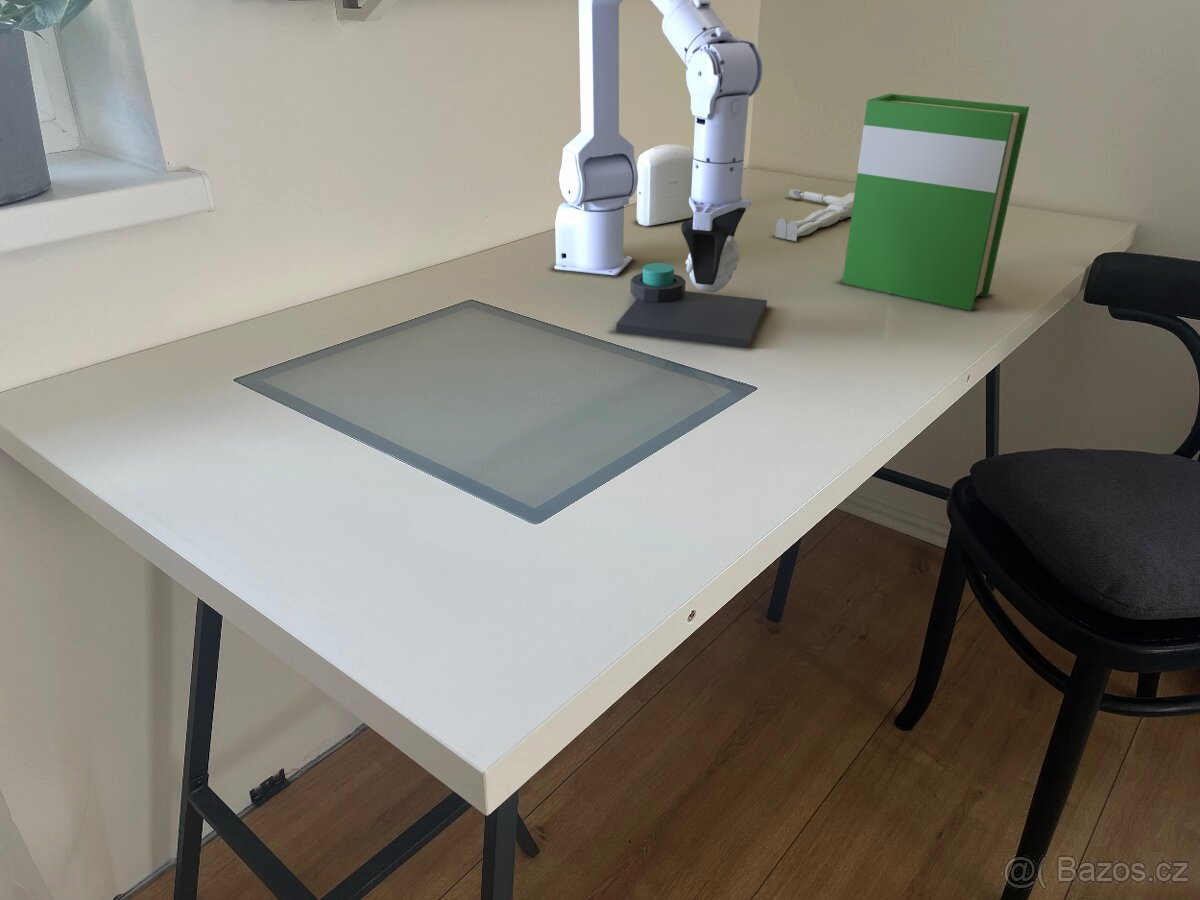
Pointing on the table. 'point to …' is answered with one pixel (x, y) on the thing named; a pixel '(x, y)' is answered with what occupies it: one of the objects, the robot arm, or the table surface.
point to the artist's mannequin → (816, 215)
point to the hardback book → (932, 196)
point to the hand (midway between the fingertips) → (710, 274)
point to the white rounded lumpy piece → (724, 270)
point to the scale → (691, 314)
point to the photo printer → (664, 184)
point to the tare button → (658, 274)
